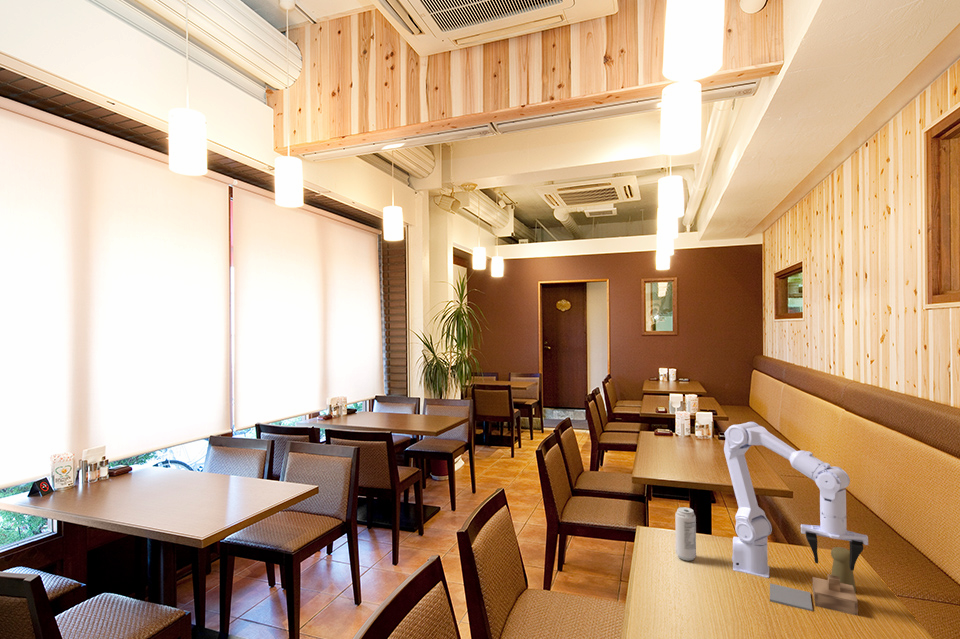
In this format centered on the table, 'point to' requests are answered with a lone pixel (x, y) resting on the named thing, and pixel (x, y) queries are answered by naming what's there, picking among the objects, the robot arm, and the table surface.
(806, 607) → the plate
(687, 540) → the energy drink can
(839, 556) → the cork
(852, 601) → the walnut cover
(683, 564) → the table surface
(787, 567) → the table surface
